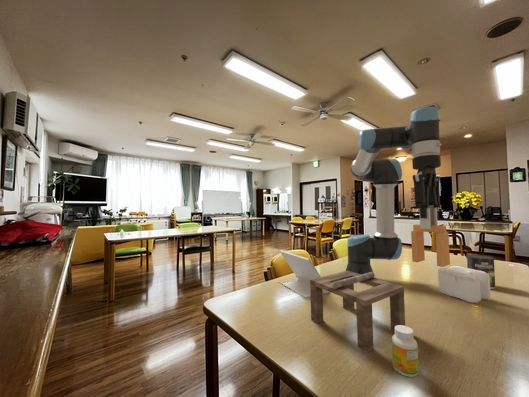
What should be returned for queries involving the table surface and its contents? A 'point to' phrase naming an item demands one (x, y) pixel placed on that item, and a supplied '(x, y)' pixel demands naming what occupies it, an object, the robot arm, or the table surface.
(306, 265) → the tablet stand
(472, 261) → the coffee can
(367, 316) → the cutout shelf
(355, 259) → the robot arm
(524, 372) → the table surface
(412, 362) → the supplement bottle
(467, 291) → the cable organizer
